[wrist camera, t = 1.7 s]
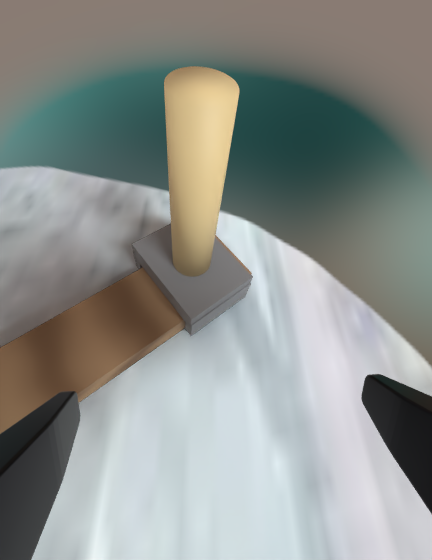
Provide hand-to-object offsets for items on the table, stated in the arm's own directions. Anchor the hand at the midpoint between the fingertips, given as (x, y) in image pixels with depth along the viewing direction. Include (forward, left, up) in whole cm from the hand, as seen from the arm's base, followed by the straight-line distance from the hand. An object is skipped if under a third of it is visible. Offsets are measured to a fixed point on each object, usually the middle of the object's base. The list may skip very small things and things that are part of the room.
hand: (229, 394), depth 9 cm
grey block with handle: (+6, +9, -14) cm, 18 cm away
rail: (0, +9, -14) cm, 17 cm away
